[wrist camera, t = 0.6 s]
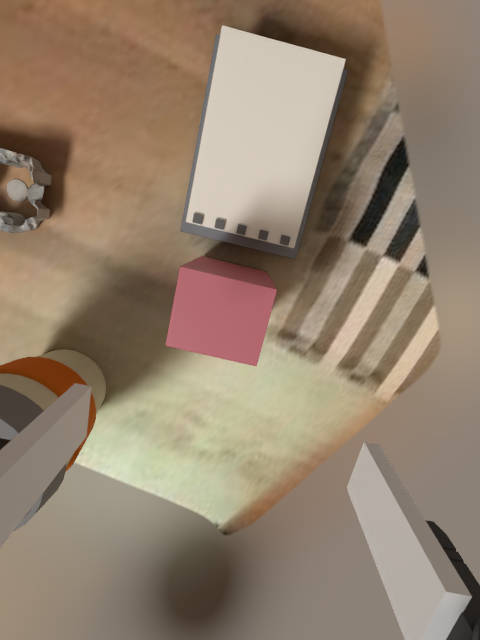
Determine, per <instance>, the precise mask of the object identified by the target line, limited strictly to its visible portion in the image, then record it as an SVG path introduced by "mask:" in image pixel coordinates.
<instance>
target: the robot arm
mask: <svg viewBox="0 0 480 640" xmlns="http://www.w3.org/2000/svg"><path fill="white" fill-rule="evenodd" d="M90 397H91V386H87V385H82V384H77V383H75V384H74V385H73V386H71V387H70V388H69V389H68V390H67V391H66V392H65V393H64V394H62V395H61V396H60V397H59V398H58V399H57V400H56V401H55V402H54V403H52V404H51V405H50V406H49V407H48V408H47V409H46V410H45V411H43V412H42V413H41V414H40V415H39V416H38V417H37V418H36V419H35V420H33V421H32V422H31V423H30V424H29V425H28V426H27V427H26V428H24V429H23V430H22V431H21V432H20V433H19V434H18V435H17V436H16V437H14V438H13V439H12V440H8V439H2V438H0V548H1V546H2V545H3V544H4V543H5V541H6V540H7V539H8V537H9V536H10V535H11V533H12V532H13V531H14V530H15V528H16V527H17V526H18V524H19V523H20V522H21V521H22V519H23V518H24V517H25V515H26V514H27V513H28V512H29V510H30V509H31V508H32V506H33V505H34V504H35V503H36V501H37V500H38V499H39V497H40V496H41V495H42V493H43V492H44V491H45V490H46V488H47V487H48V486H49V484H50V483H51V482H52V481H53V479H54V478H55V477H56V475H57V474H58V473H59V472H60V470H61V469H62V468H63V466H64V465H65V464H66V462H67V461H68V460H69V459H70V457H71V456H72V455H73V453H74V452H75V451H76V450H77V448H78V447H79V446H80V444H81V443H82V442H83V441H84V439H85V438H86V437H87V427H88V417H89V407H90ZM347 490H348V492H349V495H350V498H351V500H352V503H353V506H354V508H355V510H356V513H357V516H358V518H359V521H360V524H361V526H362V529H363V532H364V534H365V537H366V539H367V542H368V545H369V547H370V550H371V552H372V555H373V558H374V560H375V563H376V565H377V568H378V571H379V573H380V576H381V578H382V581H383V584H384V586H385V589H386V592H387V594H388V597H389V599H390V602H391V604H392V607H393V610H394V612H395V615H396V618H397V620H398V623H399V625H400V628H401V631H402V633H403V636H404V638H405V640H480V585H479V584H478V582H477V581H476V579H475V578H474V576H473V575H472V573H471V571H470V570H469V568H468V567H467V565H466V564H464V562H463V559H462V558H461V556H460V555H459V553H458V552H456V548H455V547H454V545H453V544H452V543H451V541H450V539H449V538H448V537H447V535H446V534H445V533H444V532H443V531H442V530H441V529H440V528H439V527H438V526H437V525H436V524H435V523H434V522H432V521H426V520H425V519H424V517H423V515H422V514H421V512H420V511H419V509H418V507H417V506H416V504H415V503H414V501H413V499H412V497H411V496H410V494H409V493H408V491H407V489H406V488H405V486H404V485H403V483H402V481H401V479H400V478H399V476H398V475H397V473H396V471H395V470H394V468H393V466H392V465H391V463H390V461H389V460H388V458H387V457H386V455H385V453H384V452H383V450H382V448H381V447H380V445H377V444H371V443H367V442H364V444H363V447H362V449H361V452H360V454H359V457H358V460H357V462H356V465H355V468H354V470H353V473H352V475H351V478H350V481H349V483H348V486H347Z"/></svg>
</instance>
